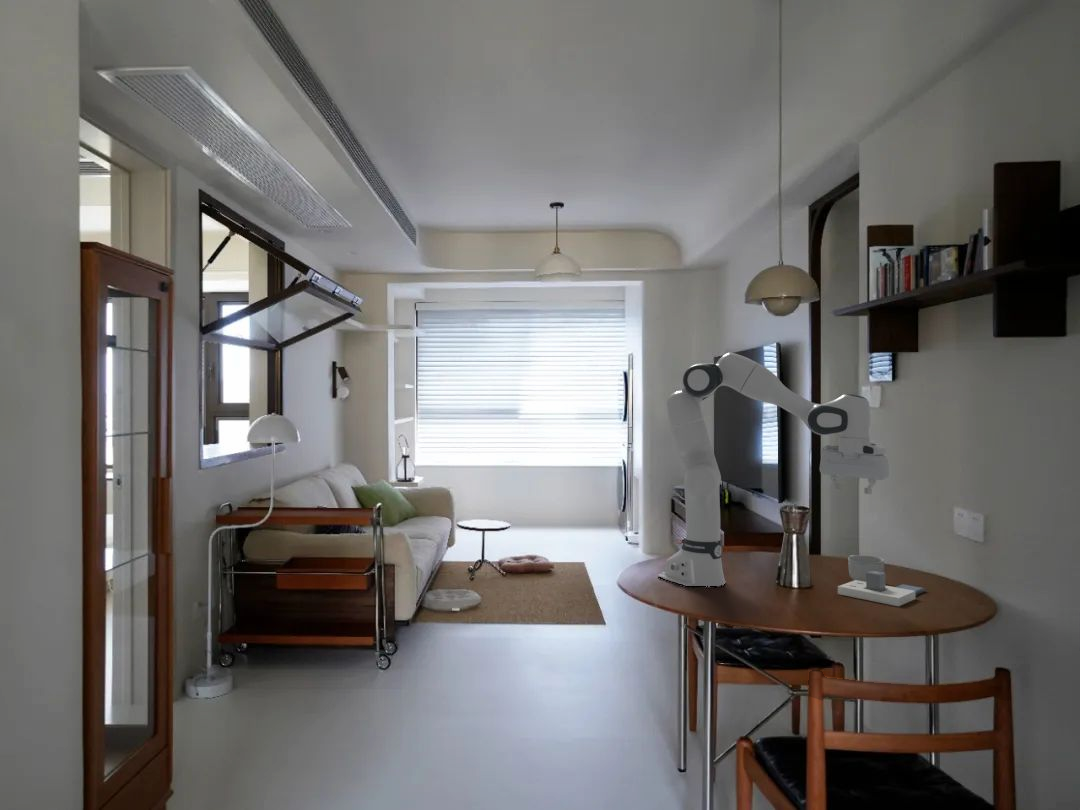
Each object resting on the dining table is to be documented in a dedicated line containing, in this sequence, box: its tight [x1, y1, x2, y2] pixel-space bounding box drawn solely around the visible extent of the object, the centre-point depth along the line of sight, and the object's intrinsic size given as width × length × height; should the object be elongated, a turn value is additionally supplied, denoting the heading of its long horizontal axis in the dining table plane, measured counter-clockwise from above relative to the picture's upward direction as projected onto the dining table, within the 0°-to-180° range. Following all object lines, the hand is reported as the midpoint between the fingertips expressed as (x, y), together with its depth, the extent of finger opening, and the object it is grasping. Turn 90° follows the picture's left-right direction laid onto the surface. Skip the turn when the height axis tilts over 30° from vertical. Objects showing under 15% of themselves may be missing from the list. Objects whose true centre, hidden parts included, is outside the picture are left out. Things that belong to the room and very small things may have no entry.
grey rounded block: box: [847, 554, 885, 582], centre depth 233 cm, size 14×11×8 cm
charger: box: [866, 571, 886, 592], centre depth 214 cm, size 4×4×7 cm
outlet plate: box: [837, 580, 916, 607], centre depth 214 cm, size 18×12×2 cm, turn 41°
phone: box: [895, 583, 926, 597], centre depth 219 cm, size 7×11×1 cm, turn 131°
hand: (852, 492), depth 217 cm, fingers open, 8 cm apart
